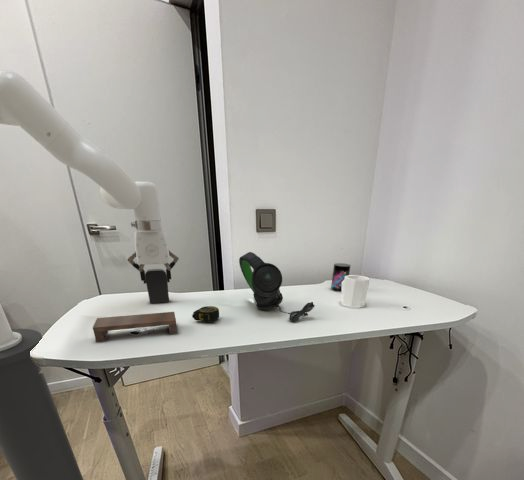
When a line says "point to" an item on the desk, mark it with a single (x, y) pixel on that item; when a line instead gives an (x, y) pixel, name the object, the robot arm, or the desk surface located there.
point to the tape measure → (206, 314)
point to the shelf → (133, 323)
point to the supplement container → (339, 275)
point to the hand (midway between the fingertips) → (156, 281)
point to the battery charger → (157, 285)
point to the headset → (266, 284)
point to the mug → (354, 291)
